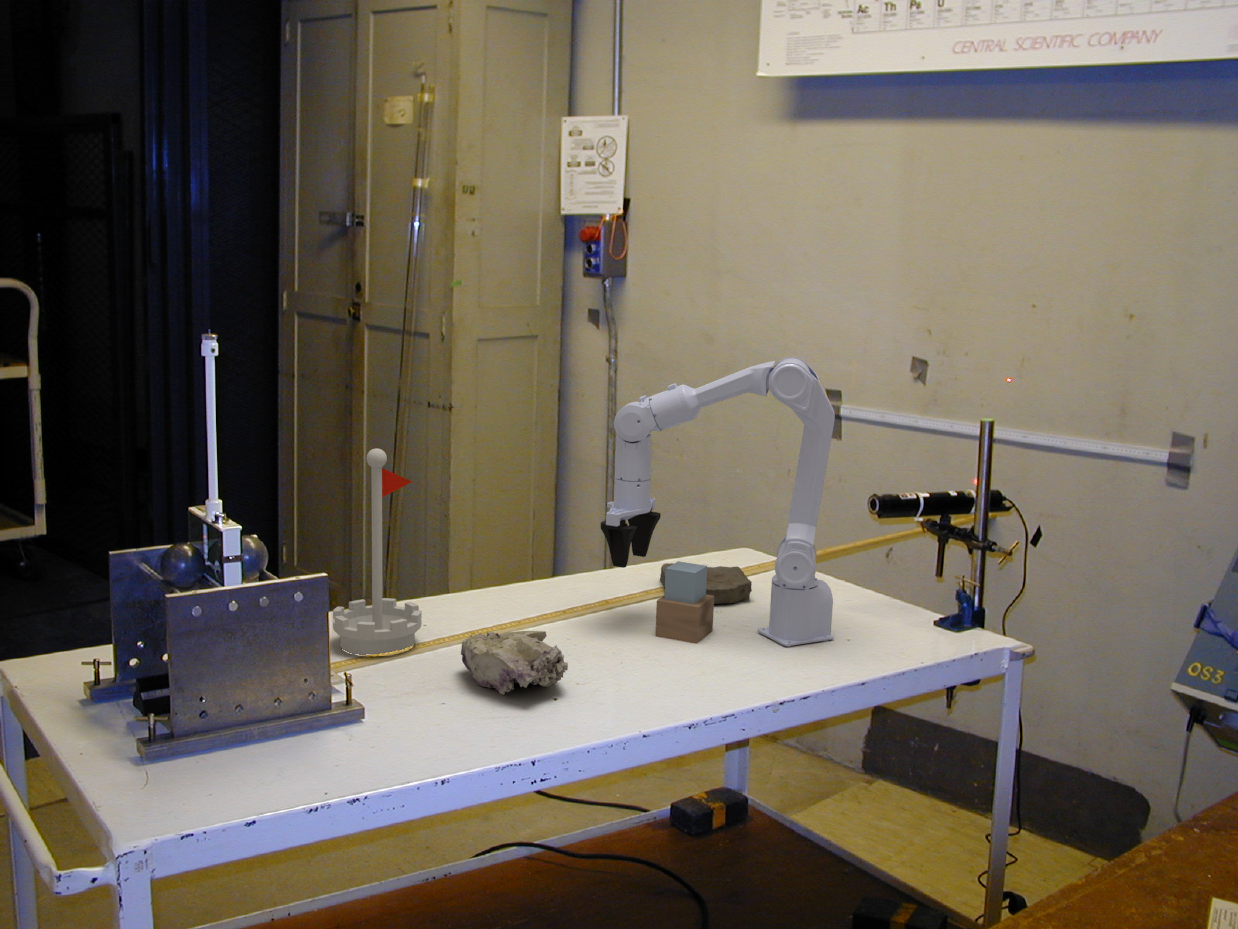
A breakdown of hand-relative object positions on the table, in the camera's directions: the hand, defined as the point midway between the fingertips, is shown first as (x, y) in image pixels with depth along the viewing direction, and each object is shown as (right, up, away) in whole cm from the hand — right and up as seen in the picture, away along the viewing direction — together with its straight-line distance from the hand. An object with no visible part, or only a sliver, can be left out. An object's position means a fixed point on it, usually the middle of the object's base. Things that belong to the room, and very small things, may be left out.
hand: (629, 561), depth 192 cm
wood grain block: (+9, -11, -2) cm, 15 cm away
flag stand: (-38, -12, -12) cm, 42 cm away
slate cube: (+9, -6, -3) cm, 11 cm away
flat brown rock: (+14, -8, +20) cm, 26 cm away
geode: (-16, -15, -26) cm, 34 cm away
